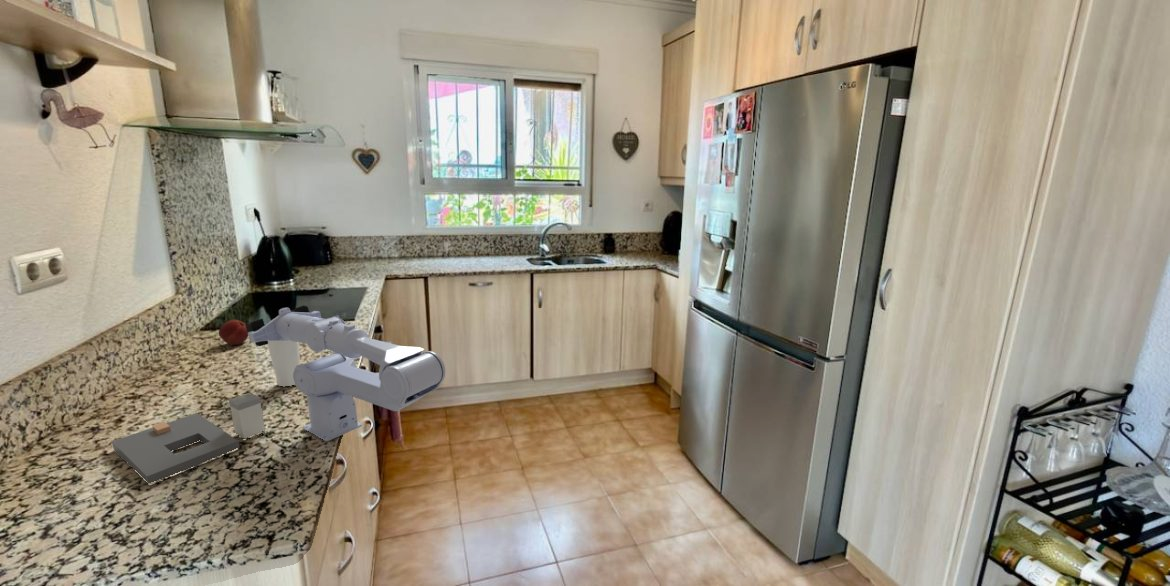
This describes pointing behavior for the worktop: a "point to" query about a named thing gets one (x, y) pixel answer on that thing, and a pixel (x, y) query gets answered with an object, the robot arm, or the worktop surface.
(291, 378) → the drinking glass
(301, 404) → the worktop surface
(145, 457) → the socket plate
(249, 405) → the plug
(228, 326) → the apple
